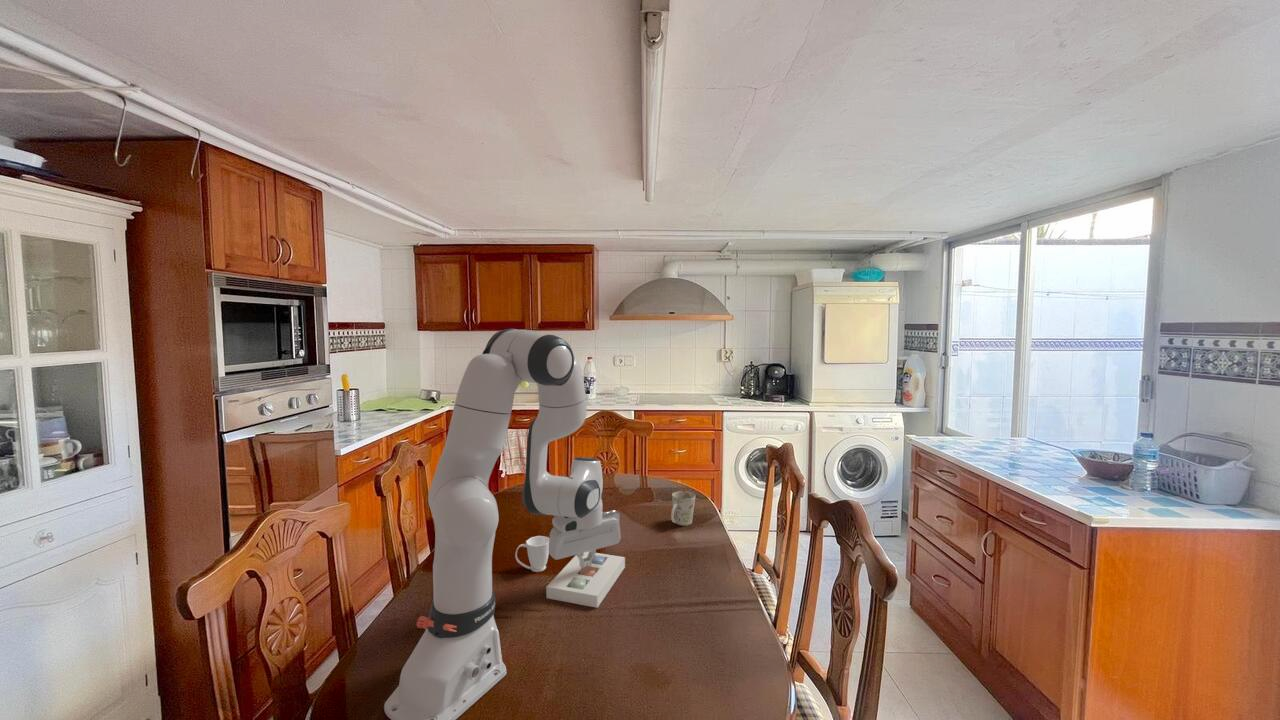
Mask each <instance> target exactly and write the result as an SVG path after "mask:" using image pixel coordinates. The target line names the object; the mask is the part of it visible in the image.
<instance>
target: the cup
mask: <svg viewBox="0 0 1280 720" xmlns="http://www.w3.org/2000/svg"><path fill="white" fill-rule="evenodd" d="M521 547H523V548H526V551H527V556H528V557H527V558H528V560H529V563H530V564H529V565H530V566H529V565H527V564H525V563H523V562H522V561H520V559H519V558H518V550H519V549H520V548H521ZM549 555H550V554H549V536H543V535H536V536H531V537H530V538H528V539H526V541H525V543H522V544H519V545H518V546H517V548H516V551H515V555H514V557H515V560H516V562H517V563H518V564H519V565H520V566H522V567H524V568H525V569H528V570H531V571H532V572H534V573H535V572H536V573H540V572H543V571H544V570H546V569H547V563H548V559H549Z"/></svg>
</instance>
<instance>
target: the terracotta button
mask: <svg viewBox="0 0 1280 720" xmlns="http://www.w3.org/2000/svg"><path fill="white" fill-rule="evenodd" d="M581 575H585V576H591V577H593V576H594V575H595V568H594V567H591V566H588V567H585V568H582V569H581Z"/></svg>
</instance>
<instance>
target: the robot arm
mask: <svg viewBox="0 0 1280 720" xmlns="http://www.w3.org/2000/svg"><path fill="white" fill-rule="evenodd" d="M522 382H526V383H531V384H536V385H537V395H538V406H539V408H538V413H537V417H534V418H533V419H532V420H531V422H530V423H529V428H528V432H527V439H526V441H527V443H526V457H525V458H526V459H525V478H524V482H523V489H522V492H521V493H522V494H521V500H522V503H523V505H524V507H525V508H526V509H527V511H528V512H529V513H530V514H531V515H543V516H544V515H545V516H546V515H549V516H554V517H552V520H551V521H552V522H551V523H552V525H553V527H552V529H551V530H550V533H549V536H548V538H549V555H550V557H551V558H552V559H554V560H561V559H565V558H569V557H572V556H573V557H574V556H577V557H578V559H579V565H580V567H581V568H585V567H588V566H591V565H592V559H593V557H594V555H595V554H596V553H597V550H600V549H603V548H607V547H609V546H614V545H618V544H619V543H620V541H621V540H622V539H621V536H622V535H621V527H620V518H621V517H620V513H619V512H618V511H616V510H615V509H612V510H610V511H603V509H604V508H603V504H604V503H603V500H602V493H603V490H604V489H603V488H604V487H603V486H604V485H603V484H604V480H603V479H604V478H603V477H604V476H603V469H602V463H601V461H600V460H599V459H598V458H595V457H587V456H578V457H574V458H573V459H572V462H571V467H570V475H569V476H559V475H552V474H551V473H550V472H548V471H547V462H548V446H549V443H551V442H553V441H556V440H560V439H563V438H566V437H568V436H570V435H572V434H574V433H575V432H576V431H578V430H579V429H580V428H581V427H582V426H583V425H584V423H585V421H586V419H587V418H586V417H587V412H588V410H587V409H588V407H587V396H586V395H587V394H586V388H585V387H586V386H585V383H584V382H585V381H584V376H583V373H582V369H581V366H580V363H579V361H578V359H577V358H576V357H575V356H574V352H573V349H572V347H571V346H570V344H569V343H568V342H567V341H566V340H565V339H563V338H562V337H559V336H557V335H555V334H546V333H543V332H538V331H536V330H531V329H516V328H506V329H502V330H500V331H497V332H495V333H494V334H492V336H490V338H489V340H488V341H487V343H486V345H485V348H484V350H483V352H482V354H479V355H476V356H474V357H473V358H472V359H471V360H470V361H469V363H468V364H467V366H466V369H465V371H464V373H463V376H462V378H461V381H460V384H459V387H458V390H457V394H456V397H455V402H454V404H453V410H452V413H451V419H450V422H449V426H448V431H447V434H446V440H445V443H444V447H443V449H442V452H441V455H440V457H439V458H438V459H439V460H438V462H437V466H436V469H435V470H434V475H433V478H432V481H431V485H430V487H429V492H428V496H427V499H428V500H427V502H428V506H429V508H430V511H431V514H432V518H433V523H434V532H435V537H434V540H435V541H434V554H433V555H434V556H433V557H434V558H433V562H432V582H433V583H432V585H433V586H432V587H433V588H432V589H433V591H432V592H433V601H432V603H431V606H430V609H429V614H428V617H427V616H426V615H425V616H424V615H421V616H419V617H418V618H417V621H416V627H417V628H418V629H424V630H425V631H424V633H423V634H422V636H421V638H419V640H418V642H417V644H416V645H415V647H414V649H413V651H412V653H410V656H409V658H408V659H407V660H406V662H405V664H404V665H403V667H402V669H401V672H400V674H399V675H400V676H399V684H398V686H397V687H396V688H395V690H394V691H392V694H390V695H389V697H388V698H387V700H386V701H385V702H384V706H383V710H384V713H385V715H386V716H387V718H389V719H390V720H457V719H458V718H460V716H462V715H463V714H464V713H465V712H466V711H467V710H469V708H470V707H472V706H473V705H474V704H475V703H477V701H478V700H480V698H482V697H483V696H484V695H485V694H486V693H488V692H489V690H491V689H492V688H493V687H494V686H495V685H497V684H498V682H500V681H501V680H502V679H503V678H504V677H505V676H506V675H507V667H506V664H505V663H504V662H503V655H502V649H501V640H500V632H499V629H498V626H497V623H496V619H495V616H494V614H495V610H496V598H495V597H496V596H495V591H494V590H493V551H494V544H495V538H496V531H497V528H498V524H499V522H500V521H499V519H500V518H499V510H498V509H499V508H498V503H497V499H496V498H495V496H494V495H493V494H492V492H491V491H490V489H489V483H490V482H489V481H490V477H491V475H492V472H493V469H494V467H495V465H496V463H497V460H498V458H499V456H501V454H502V453H503V451H504V446H505V442H506V438H507V434H508V429H509V425H510V420H511V415H512V410H513V407H514V399H515V394H516V391H517V389H518V388H519V386H520V385H521V383H522ZM584 552H589V554H588V556H587V558H584V559H583V558H582V556H584Z"/></svg>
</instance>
